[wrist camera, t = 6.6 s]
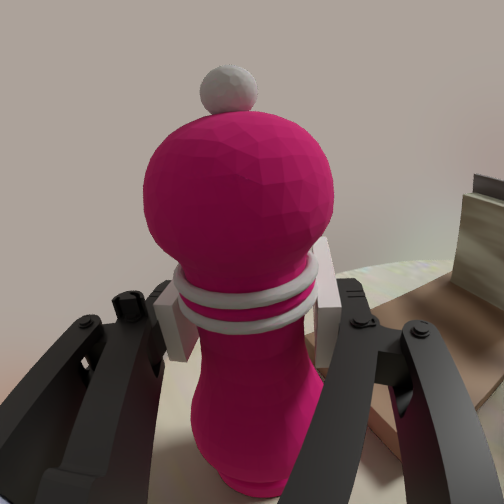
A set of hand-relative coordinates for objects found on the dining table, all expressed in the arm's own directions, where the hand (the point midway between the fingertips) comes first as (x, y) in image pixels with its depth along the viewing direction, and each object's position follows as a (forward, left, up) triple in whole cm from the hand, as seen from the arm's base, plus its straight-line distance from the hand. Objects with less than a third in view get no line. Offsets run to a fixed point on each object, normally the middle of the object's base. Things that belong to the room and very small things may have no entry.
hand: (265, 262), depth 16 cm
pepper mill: (+3, +5, -11) cm, 12 cm away
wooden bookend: (-16, +4, -11) cm, 20 cm away
